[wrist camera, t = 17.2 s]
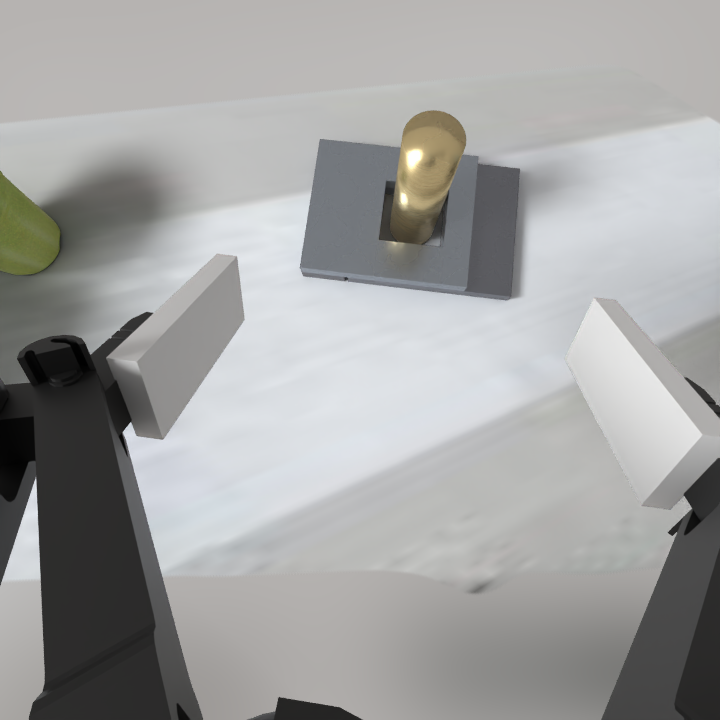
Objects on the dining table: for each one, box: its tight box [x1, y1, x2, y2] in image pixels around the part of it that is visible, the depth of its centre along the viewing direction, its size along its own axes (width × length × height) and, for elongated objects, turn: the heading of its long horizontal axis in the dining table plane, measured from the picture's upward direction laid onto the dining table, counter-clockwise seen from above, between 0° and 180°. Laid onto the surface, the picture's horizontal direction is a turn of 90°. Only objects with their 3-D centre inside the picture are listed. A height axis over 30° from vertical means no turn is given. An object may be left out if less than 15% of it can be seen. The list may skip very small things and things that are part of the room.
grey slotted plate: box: [300, 139, 478, 291], centre depth 35 cm, size 14×12×2 cm
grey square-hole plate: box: [348, 164, 520, 300], centre depth 35 cm, size 14×12×1 cm
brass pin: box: [390, 111, 466, 245], centre depth 30 cm, size 4×4×11 cm
